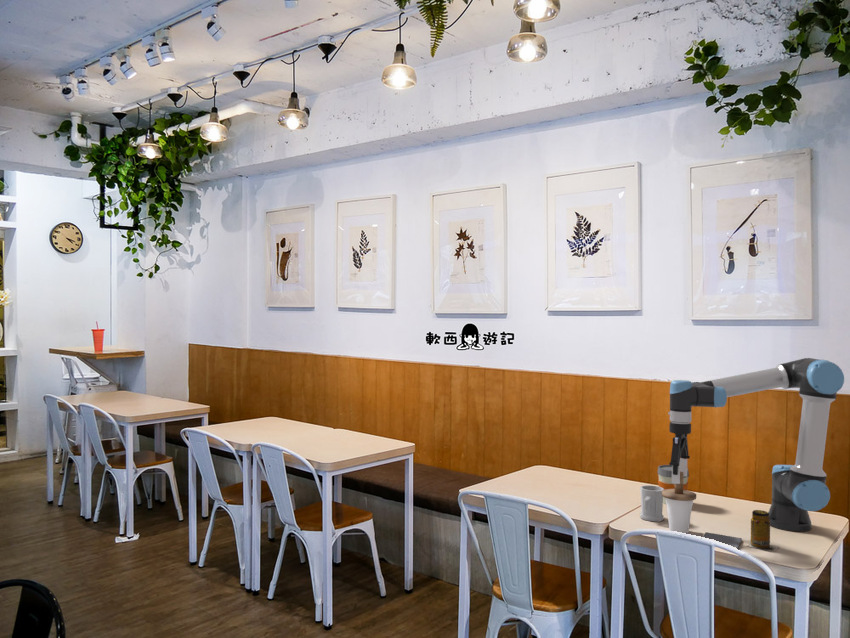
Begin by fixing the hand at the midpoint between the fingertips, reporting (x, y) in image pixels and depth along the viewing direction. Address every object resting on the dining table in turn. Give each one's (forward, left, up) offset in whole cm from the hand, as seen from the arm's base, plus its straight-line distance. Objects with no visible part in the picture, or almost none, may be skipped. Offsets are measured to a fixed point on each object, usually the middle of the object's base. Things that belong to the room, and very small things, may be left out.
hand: (679, 479), depth 249 cm
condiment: (-28, +1, -19) cm, 34 cm away
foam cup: (0, 0, -19) cm, 19 cm away
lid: (0, 0, -6) cm, 6 cm away
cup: (+12, -10, -19) cm, 25 cm away
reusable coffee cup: (+10, -38, -19) cm, 44 cm away
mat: (-15, +4, -19) cm, 25 cm away
